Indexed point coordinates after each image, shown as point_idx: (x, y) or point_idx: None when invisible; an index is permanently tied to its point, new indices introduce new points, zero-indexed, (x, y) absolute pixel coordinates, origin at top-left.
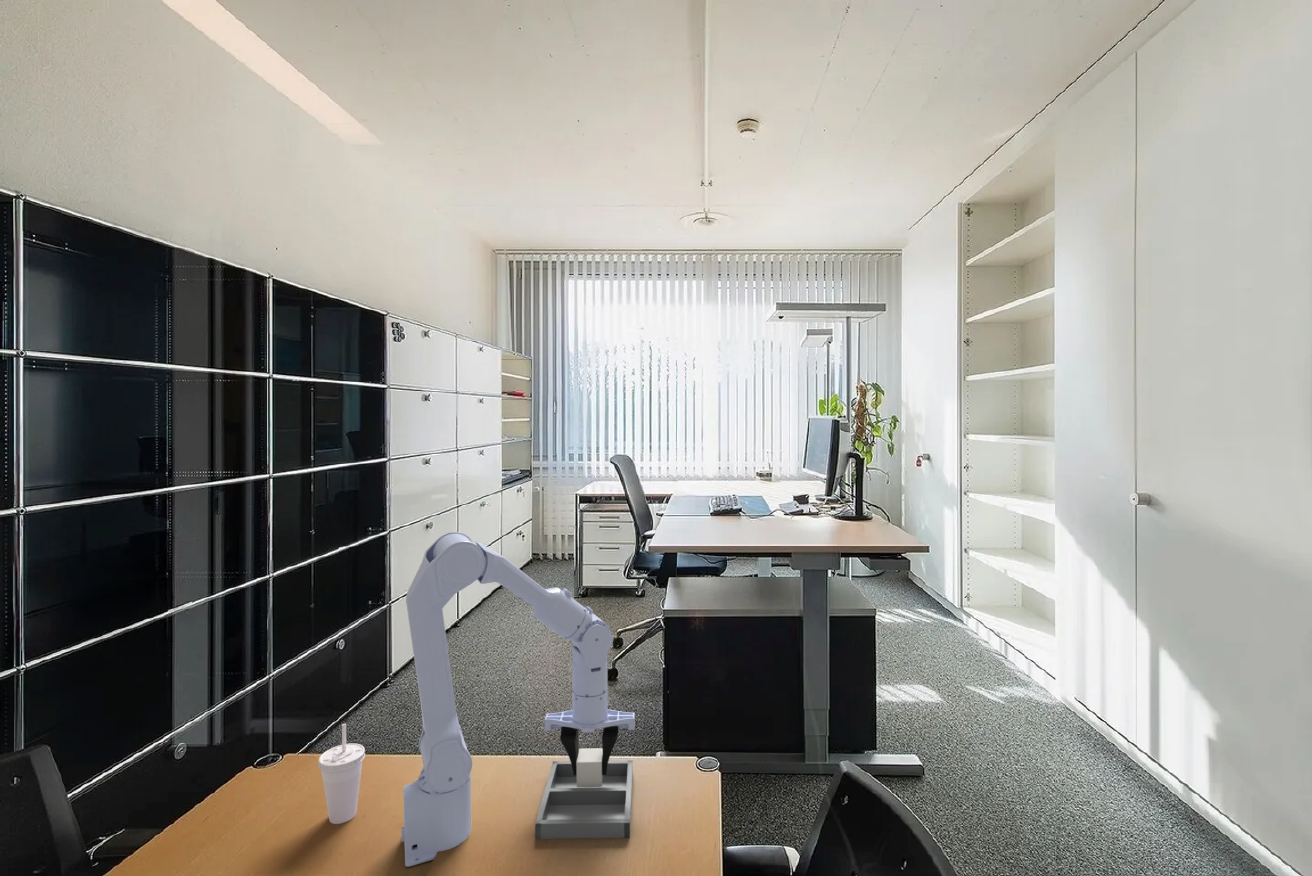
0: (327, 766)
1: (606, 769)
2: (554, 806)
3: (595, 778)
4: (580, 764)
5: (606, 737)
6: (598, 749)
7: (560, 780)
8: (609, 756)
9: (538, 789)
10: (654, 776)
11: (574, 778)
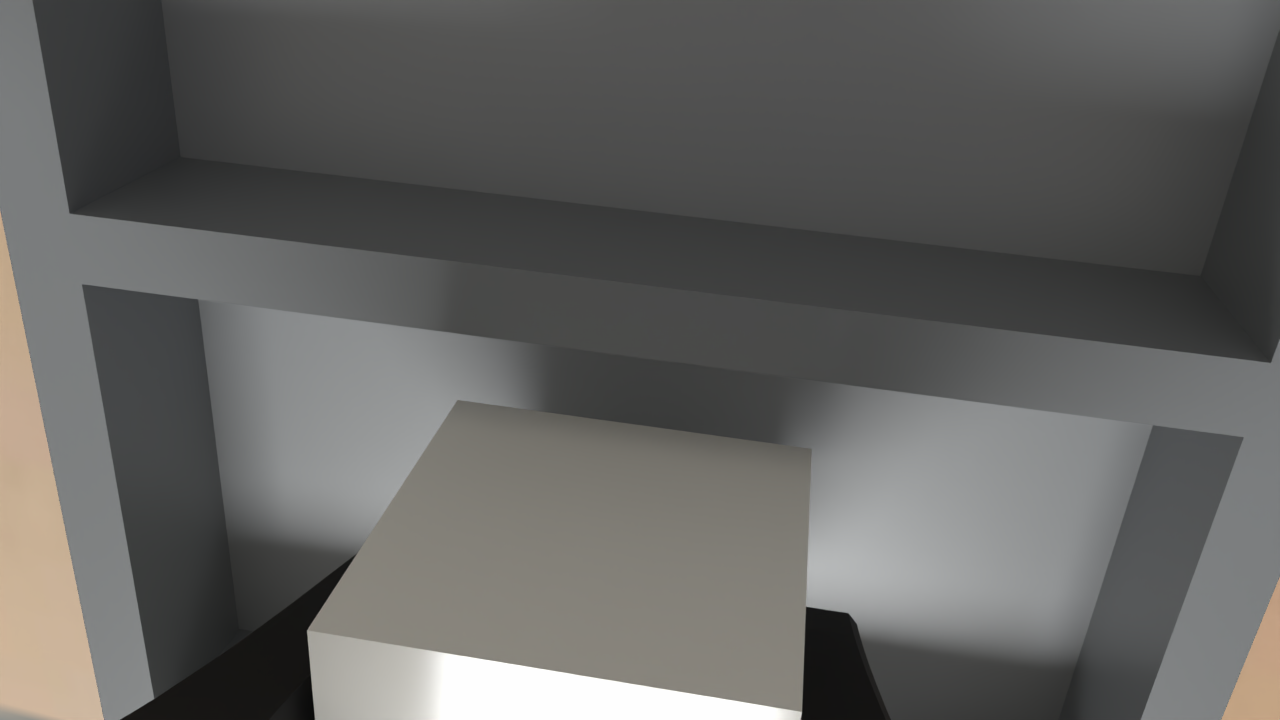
0: None
1: (321, 581)
2: (1132, 245)
3: (509, 476)
4: (722, 668)
5: None
6: None
7: (1008, 700)
8: (135, 712)
9: (1276, 644)
10: (18, 610)
11: None
